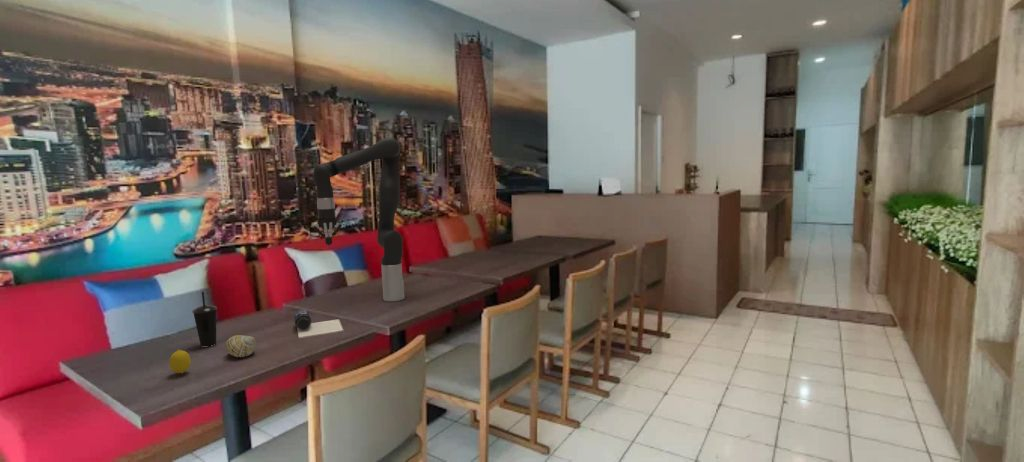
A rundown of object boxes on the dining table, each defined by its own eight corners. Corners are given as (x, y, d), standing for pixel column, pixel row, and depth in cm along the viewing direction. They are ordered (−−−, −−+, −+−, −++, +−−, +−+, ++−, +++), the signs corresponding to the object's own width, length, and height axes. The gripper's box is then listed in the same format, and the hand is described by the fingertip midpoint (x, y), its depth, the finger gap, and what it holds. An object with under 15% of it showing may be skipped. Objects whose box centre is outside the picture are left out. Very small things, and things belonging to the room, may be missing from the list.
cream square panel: (338, 320, 209) (338, 319, 209) (343, 331, 196) (343, 330, 196) (297, 326, 202) (296, 325, 202) (298, 338, 189) (298, 337, 189)
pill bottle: (306, 306, 205) (308, 313, 195) (312, 319, 206) (314, 327, 196) (291, 313, 202) (292, 320, 193) (297, 326, 204) (299, 334, 194)
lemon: (177, 370, 162) (174, 347, 161) (195, 369, 163) (192, 346, 161) (167, 378, 157) (164, 353, 155) (185, 377, 157) (182, 352, 156)
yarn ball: (235, 346, 181) (245, 322, 179) (257, 359, 180) (268, 335, 178) (214, 355, 171) (224, 330, 169) (237, 369, 170) (248, 344, 168)
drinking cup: (225, 342, 186) (219, 289, 183) (207, 350, 179) (201, 295, 176) (210, 340, 189) (204, 288, 186) (191, 347, 182) (184, 294, 179)
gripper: (311, 209, 224) (314, 247, 227) (342, 207, 230) (345, 244, 232) (310, 207, 231) (313, 245, 233) (340, 206, 236) (343, 242, 239)
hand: (329, 244), depth 233 cm, fingers closed
